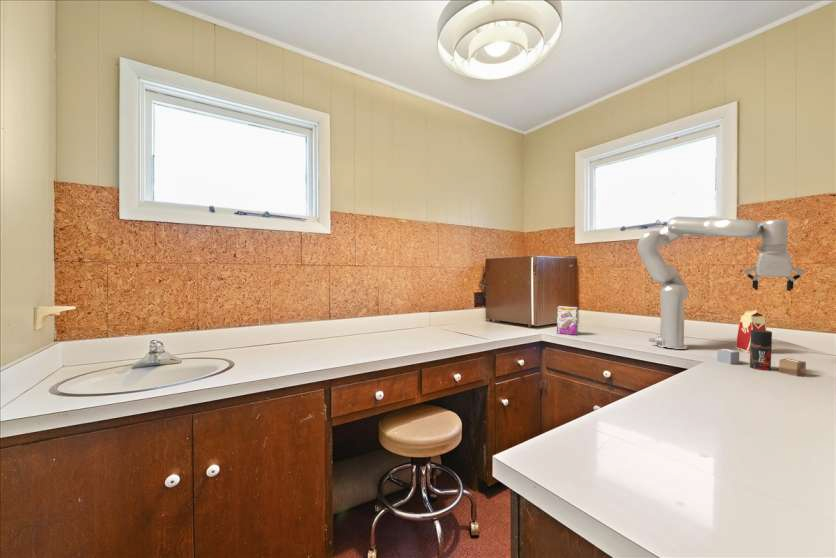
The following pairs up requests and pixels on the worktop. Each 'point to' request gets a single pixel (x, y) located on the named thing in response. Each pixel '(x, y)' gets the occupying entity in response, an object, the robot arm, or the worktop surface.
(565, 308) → the candy bar box
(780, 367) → the walnut block
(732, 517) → the worktop surface
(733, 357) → the grey block
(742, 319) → the milk carton
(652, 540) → the worktop surface
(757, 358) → the deodorant
